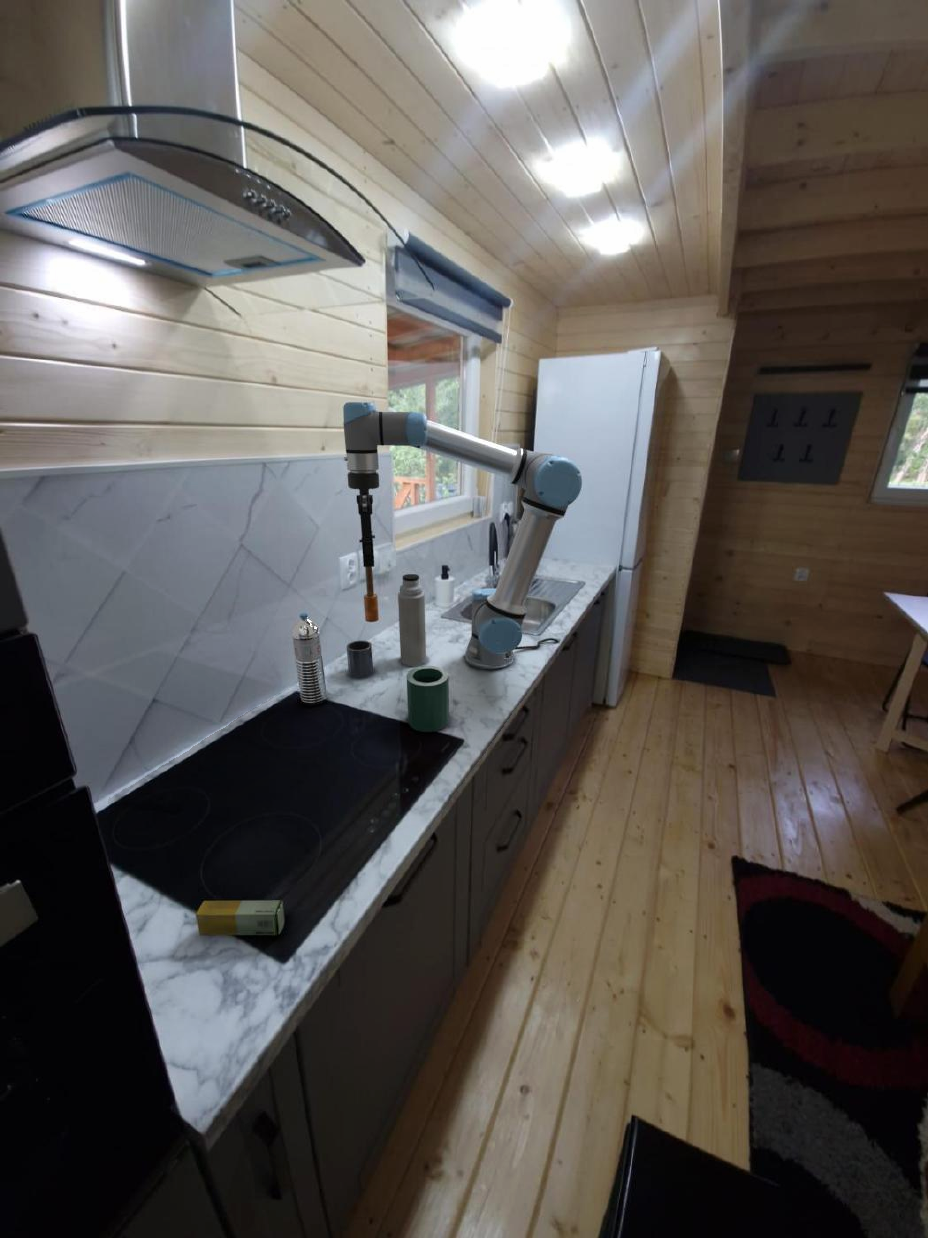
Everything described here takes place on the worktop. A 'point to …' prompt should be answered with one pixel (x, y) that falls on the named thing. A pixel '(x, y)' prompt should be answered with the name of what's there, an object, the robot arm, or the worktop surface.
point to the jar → (428, 698)
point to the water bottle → (309, 661)
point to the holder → (360, 659)
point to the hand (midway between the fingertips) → (368, 564)
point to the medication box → (240, 917)
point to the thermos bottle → (412, 621)
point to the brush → (370, 598)
